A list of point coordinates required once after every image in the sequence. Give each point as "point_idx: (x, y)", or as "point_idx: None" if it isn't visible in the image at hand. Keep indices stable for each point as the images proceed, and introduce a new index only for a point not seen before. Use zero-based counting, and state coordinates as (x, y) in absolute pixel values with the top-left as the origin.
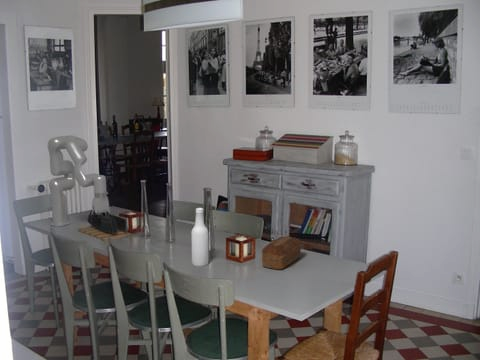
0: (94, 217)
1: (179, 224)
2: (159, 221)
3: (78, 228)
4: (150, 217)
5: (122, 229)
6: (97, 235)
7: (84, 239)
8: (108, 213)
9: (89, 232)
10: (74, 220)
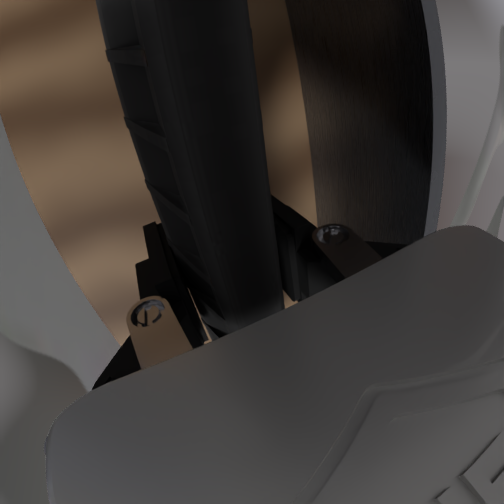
0: (123, 108)
1: (496, 210)
2: (499, 124)
3: None
4: (501, 40)
5: None
6: (118, 330)
7: (21, 322)
8: (437, 80)
9: (46, 208)
10: None
